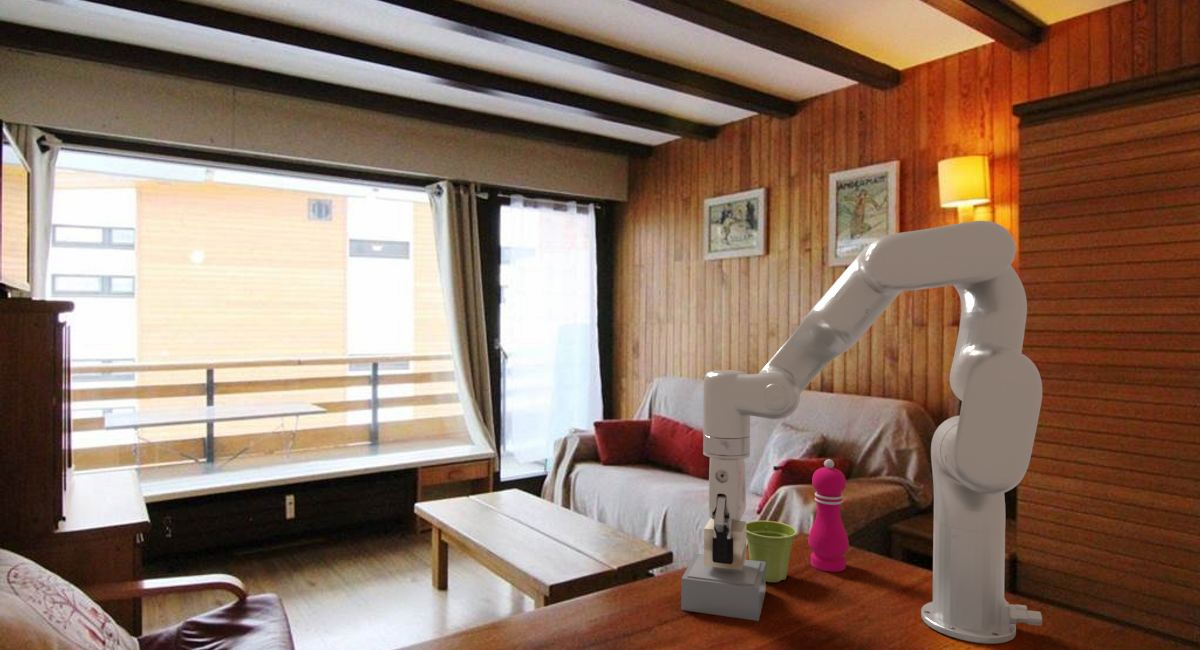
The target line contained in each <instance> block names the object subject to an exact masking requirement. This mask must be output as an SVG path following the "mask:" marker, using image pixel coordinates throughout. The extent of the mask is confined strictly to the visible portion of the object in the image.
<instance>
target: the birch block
mask: <svg viewBox="0 0 1200 650" xmlns="http://www.w3.org/2000/svg"><path fill="white" fill-rule="evenodd" d="M746 523H747V521H746V520H745V521H743V520H740V521H738V522H736V521H735V520H732V535H731V538H733V563H732V564H723V563H715V562H713V560H712V549H713V529H714V519H712V518H711V517H710V518H709V520H708V521H707V523H706V525H705V526H704V528H703V530H704V531H703V554H704V566H712V567H720V568H728V569H737V570H742V568H743V565H744V562H745V560H747V538H746ZM725 525H726V526H727V527H728V523H725ZM727 531H728V530H727Z"/></svg>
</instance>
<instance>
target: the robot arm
mask: <svg viewBox="0 0 1200 650" xmlns="http://www.w3.org/2000/svg"><path fill="white" fill-rule="evenodd" d="M1016 253H1017V251H1016V242H1015V239H1014V237H1013V235H1012V234H1011V233H1010V232H1009V230H1008V229H1007V228H1006V227H1004V226H1003V225H1001V224H999V223H997V222H993V221H990V220H972V221H966V222H961V223H955V224H948V225H943V226H938V227H937V226H936V227H930V228H925V229H916V230H911V231H903V232H896V233H890V234H886V235H882V236H880V237H879V238H876V239H875V240H873V241H872V242H871V243H869V244H868V245H866V247H865V248H864V249H862V251H861V252H860V253H859V254H858V255H857V256H856V257H855V258H854V260H853V261H852V262H851V263H850V264H849V265H848V266H847V268H845V270H844V271H843V272H842V273H841V275H840V276H839V277H838V278H837V280H836V281H835V282H834V283H833V284H832V285H831V286H830V288H829V289H828V290H827V291H826V292H825V294H823V296H822V297H821V298H820V299H819V300H818V301H817V302H816V303H815V305H814V306H813V307H812V308H811V309H810V310H809V312H808V313H807V314H806V315H805V317H804V318H803V319H802V320H801V323H800V324H799V326H798V327H797V328H796V329H795V331H794V332H793V333H792V334H791V336H789V338H788V339H787V340H786V341H785V343H784V344H783V345H782V346H781V347H780V348H779V349H778V350H777V351H776V353H775V354H774V355H773V356H772V357H771V358H770V360H769V361H768V362H767V363H766V364H765V366H763V368H762V369H761V370H760V371H759V372H758V373H747V372H745V371H741V370H736V369H715V370H711V371H708V372H706V374H704V378H703V414H702V415H703V420H702V421H703V422H702V423H703V428H702V429H703V430H702V431H703V435H702V436H703V441H702V447H703V448H702V454H703V455H704V456H705V457H708V458H709V470H708V474H709V475H708V512H709V513H708V514H709V517H710V518H712V519H714V529H713V549H712V560H713V562H715V563H723V564H732V563H733V538H731V535H732V520H735V521H736V522H738V521H742V518H743V516H744V513H745V512H746V507H747V496H746V495H747V492H746V487H747V486H746V464H745V459H748V458H750V456H751V417H755V418H756V417H757V418H761V419H767V420H781V419H786V418H788V417H790V416H791V415H793V414H794V413H795V411H796V410H797V408H798V407H799V404H800V401H801V394H802V393H803V391H804V390H805V389H806V388H807V387H808V385H809V384H810V383H811V382H812V381H813V380H814V378H816V376H817V375H819V373H820V372H821V371H822V370H823V369H824V368H826V366H828V365H829V364H830V362H832V361H833V360H834V359H836V358H837V357H839V356H841V355H842V354H844V353H845V352H847V351H849V350H850V349H851V348H852V347H853V346H855V344H856V343H858V342H859V341H860V339H861V338H862V337H863V336H864V334H865V333H866V332H868V330H869V329H870V328H871V326H872V325H873V324H874V323H875V322H877V320H878V318H880V317H881V315H882V314H883V313H884V312H885V310H887V309H888V307H890V305H891V304H892V303H893V302H895V301H894V300H896V298H897V297H898V296H899V295H900V294H901V293H902V292H907V291H919V290H927V289H934V288H943V287H950V286H953V287H954V289H955V290H956V291H957V293H958V296H959V298H960V303H961V304H960V305H961V309H960V311H961V313H960V320H959V321H960V322H959V329H958V334H957V340H956V344H955V349H954V355H953V359H952V363H951V368H950V372H949V384H950V388H951V391H952V393H953V394H954V396H955V397H957V398H958V400H960V401H961V405H960V412H959V415H954V416H952V417H949V418H947V419H946V420H944V421H943V422H942V423H941V424H940V425H938V427H937V428H936V430H935V431H934V433H933V436H932V439H931V444H930V445H931V446H930V458H931V459H930V460H931V470H932V471H931V472H932V481H933V484H932V485H933V530H932V531H933V533H932V535H933V539H932V540H933V541H932V543H933V546H932V548H933V549H932V601H929V602H926V604H924V605H923V606H922V607H921V610H920V611H921V613H920V615H921V619H922V620H923V622H924V623H925V624H926V625H927V626H928V627H930V628H931V629H933V630H934V631H936V632H939V633H940V634H944V635H945V636H948V637H951V638H955V639H957V640H960V641H966V642H970V643H977V644H986V645H987V644H989V645H990V644H994V645H995V644H1003V643H1007V642H1010V641H1011V640H1013V639H1014V638H1015V637H1016V635H1017V627H1016V625H1017V624H1018V623H1022V624H1027V625H1033V626H1039V627H1041V626H1042V625H1043V616H1042V613H1041V611H1036V610H1028V607H1027V605H1023V604H1011V603H1009V601H1007V599H1006V598H1005V569H1006V568H1005V566H1006V565H1005V563H1006V561H1005V559H1006V553H1005V552H1006V502H1005V501H1006V500H1005V499H1006V498H1005V493H1007V492H1009V491H1011V490H1013V489H1014V488H1015V487H1017V486H1018V485H1019V484H1020V483H1021V481H1022V480H1023V479H1024V477H1025V475H1026V473H1027V470H1028V468H1029V465H1030V461H1031V456H1032V451H1033V449H1034V448H1033V447H1034V442H1035V439H1036V433H1037V428H1038V422H1039V418H1040V412H1041V407H1042V401H1043V383H1042V378H1041V375H1040V372H1039V370H1038V368H1037V366H1036V364H1035V363H1034V362H1033V361H1032V359H1030V358H1029V357H1028V356H1026V355H1025V354H1023V352H1022V351H1023V344H1024V340H1025V329H1026V322H1027V315H1028V305H1027V304H1028V302H1027V301H1028V299H1027V295H1026V291H1025V287H1024V285H1023V283H1022V281H1021V278H1020V277H1019V276H1018V273H1017V272H1016V270H1015V269H1014V267H1013V265H1012V264H1013V263H1014V260H1015V257H1016ZM725 523H728V527H727V526H726V525H725ZM727 530H728V531H727Z"/></svg>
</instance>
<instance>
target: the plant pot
mask: <svg viewBox="0 0 1200 650" xmlns="http://www.w3.org/2000/svg"><path fill="white" fill-rule="evenodd" d="M797 533H798V531H797V529H796V528H795V527H793V526H792V525H790V524H786V523H783V522H778V521H773V520H772V521H771V520H753V521H749V522H746V542H747V547H748V555H749V556H748V557H749V560H755V561H763V562H766V582H767V583H779V582H780V581H782V580H783V581H785V580H786V578H787V575H788V568H789V563H790V556H791V549H792V545H793V542H794V540H795V536H797Z"/></svg>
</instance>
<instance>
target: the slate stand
mask: <svg viewBox="0 0 1200 650" xmlns="http://www.w3.org/2000/svg"><path fill="white" fill-rule="evenodd" d="M680 584H681V588H680V589H681V591H680V592H681V595H680V597H681V598H680V599H681V601H680V602H681V603H680V604H681V605H680V607H681V609H680V610H681V611H687V612H695V613H701V614H707V615H716V616H722V617H729V618H736V619H742V620H751V621H757V622H759V621H760V616H761V613H762V610H763V609H762V608H763V604H764V600H765V596H766V590H767V589H766V586H767V585H766V562H763V561H755V560H750V559H746V560H745V562H744V565H743V568H742V570H737V569H728V568H720V567H712V566H704V553H694V556H693V557H692V559H691V561H690V563H689V564H688V566H687V568H686V569H685V572H684V574H683V575H682V577H681V583H680Z"/></svg>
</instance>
